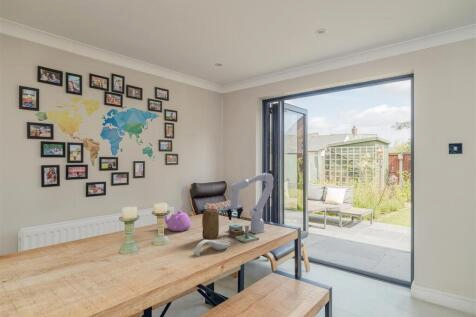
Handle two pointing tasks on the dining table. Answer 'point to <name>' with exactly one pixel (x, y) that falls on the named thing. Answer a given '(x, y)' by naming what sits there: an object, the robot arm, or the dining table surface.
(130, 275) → the dining table surface
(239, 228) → the teal block
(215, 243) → the spoon rest
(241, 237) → the tray
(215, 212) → the block
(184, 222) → the teapot
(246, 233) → the pin gauge
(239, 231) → the walnut bore block
